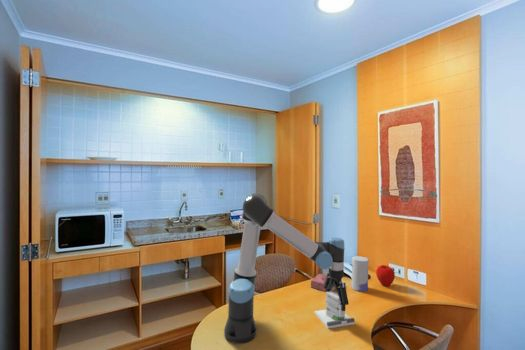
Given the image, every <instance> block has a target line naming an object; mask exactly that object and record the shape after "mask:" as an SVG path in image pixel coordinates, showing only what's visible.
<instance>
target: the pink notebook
mask: <svg viewBox="0 0 525 350" xmlns="http://www.w3.org/2000/svg"><path fill="white" fill-rule="evenodd" d="M326 278H327V274H322V273H318V274H317V275H316V276H314V278H312V279H311V280H310V288H312V289H316V290H318V291H323V292H325V293H326V289H325V288H324V285H325V281H326ZM331 291H333V292H335V291H337V290H336V288H335V287H334V286H333V287H332V289H331Z"/></svg>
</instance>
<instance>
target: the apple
mask: <svg viewBox="0 0 525 350" xmlns="http://www.w3.org/2000/svg"><path fill="white" fill-rule="evenodd" d="M375 274H376V277H377V280H378V282H379V283H380V284H381V286H383V287H386V288H388V287H390V286H392V284H393V282H394V280H395V278H396V276H395V275H396V273H395V271H394V269H393V267H391V266H390V265H385V264H382V265H379V266H378V267H377V268H376V272H375Z"/></svg>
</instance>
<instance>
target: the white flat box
mask: <svg viewBox="0 0 525 350" xmlns="http://www.w3.org/2000/svg"><path fill="white" fill-rule="evenodd" d="M314 314H315V316H316V317H317V318H318V319H319V321H321V323H322V324H323V325H324V327H326V328H327V329H328V330H329V329H334V328H339V327H346V326H352V325H353V326H354V325H355V318H354V317H350V316H349V315H348V314H346V313H345V317H344V319H343V320H337V321H335V320H334V319H332V318H331V317H329V316H327V315H326V309H321V310H319V309H318V310H314Z"/></svg>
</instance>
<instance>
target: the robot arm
mask: <svg viewBox="0 0 525 350" xmlns="http://www.w3.org/2000/svg"><path fill="white" fill-rule="evenodd" d="M241 219H242V221H243V222H244V224H243V230H242V237H241V238H242V239H241V245H240V251H239V252H240V253H239V257H238V258H239V259H238V265H237V267H235V269H234V271H233V277H232V278H233V279H232V282H230V284H229V286H228V291H227V292H228V312H227V313H228V315H227V320H226V323H225V325H224V330H223V331H224V332H223V335H224V337H225V339H226V340H227V341H229V342H230V343H234V344H245V343H249V342H250V341H252V340H254V339H255V337H257V333H258V331H257V330H258V329H257V324H256V322H255V318H254V301H255V299H254V298H255V297H254V296H255V288H256V280H257V273H258V272H257V271H256V269H255V266H256V260H257V253H258V246H259V242H260V241H259V239H260V235H261V228H266V229H267V230H270V232H272V233H273V234H275V235H276V236H277V237H279V238H280V239H281V240H284V242H285V243H287V244H289V245H290V246H292V247H293V248H294V249H295V250H297V251H298V252H300V253H302V254H303V255H304V256H306V257H307V258H308V259H310V260H311V261H313V262H314V263H316V266H317V267H318V268H320V269H321V270H327V269H328V272H327V274H326V275H327V278H326V281H325V285H324V288H325V289H326V292H325V294H326V293H327V292H331V289H332V287H333V286H334V287H335V288H336V290H335V291H336V293H337V294H338V296H339V299H340V302H341V303H340V308H339V317H345V314H346V306H348V305H349V298H348V293H347V288H346V287H347V286H346V282H342V279H343V278H344V275H345V274H344V272H345V271H344V270H345V269H344V267H345V240H344V239H343V238H340V237H330V238H329V239H328V240H329V241H314V240H313V239H311V238H309V237H308V236H307V235H305V234H304V233H303V232H301V231H299V230H298V229H297V228H295V226H293V225H291V224H290V223H289V222H287V221H286V220H285V219H283V218H282V217H280V216H279V215H277V214H276V213H275V210H274V209H273V208H271V207H270V206H269V205H268V201H267V200H266V197H265V196H263V195H262V194H260V193H255V192H254V193H251V194H249V195H248V196H246V198H245V200H244V201H243V203H242V218H241ZM342 301H343V302H342Z"/></svg>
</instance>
